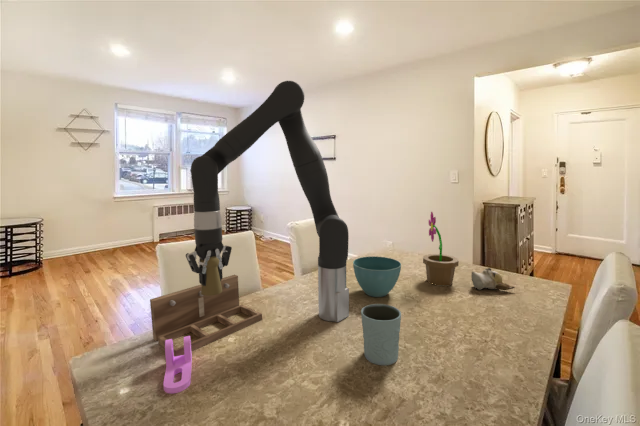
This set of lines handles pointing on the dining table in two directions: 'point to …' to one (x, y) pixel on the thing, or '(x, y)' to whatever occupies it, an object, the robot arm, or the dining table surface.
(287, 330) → the dining table surface
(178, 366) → the bracket
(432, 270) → the flowerpot
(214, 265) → the olive bulbous cylinder
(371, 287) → the teal bowl
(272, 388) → the dining table surface
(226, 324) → the wooden peg rack
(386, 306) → the light blue cup
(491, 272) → the ceramic sculpture
